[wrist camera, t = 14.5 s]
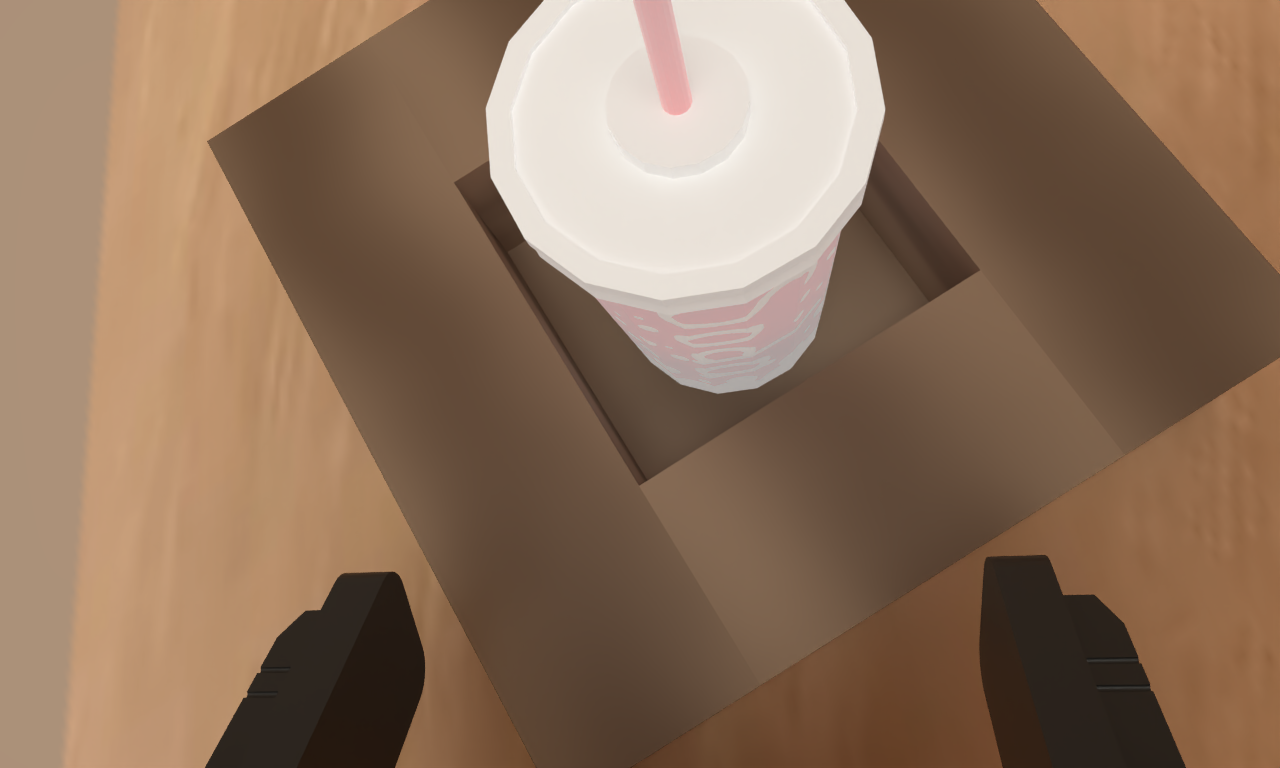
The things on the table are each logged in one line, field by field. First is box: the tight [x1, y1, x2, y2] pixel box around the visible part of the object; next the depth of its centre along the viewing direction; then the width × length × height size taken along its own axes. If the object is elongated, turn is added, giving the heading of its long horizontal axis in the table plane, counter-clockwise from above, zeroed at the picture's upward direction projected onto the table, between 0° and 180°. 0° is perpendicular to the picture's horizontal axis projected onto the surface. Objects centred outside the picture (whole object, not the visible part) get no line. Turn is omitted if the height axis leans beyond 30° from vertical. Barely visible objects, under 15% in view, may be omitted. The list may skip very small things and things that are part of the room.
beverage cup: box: [486, 0, 885, 394], centre depth 17 cm, size 6×6×14 cm
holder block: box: [207, 0, 1280, 768], centre depth 23 cm, size 16×16×5 cm
